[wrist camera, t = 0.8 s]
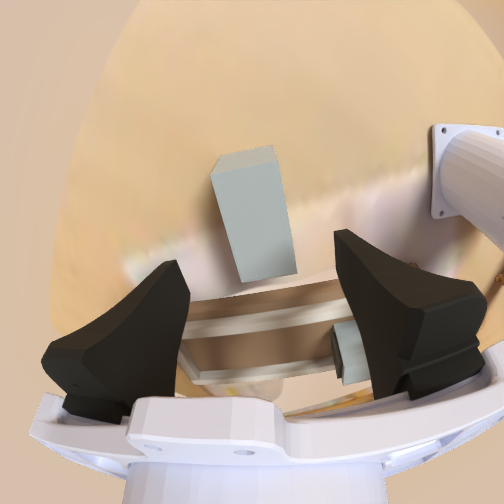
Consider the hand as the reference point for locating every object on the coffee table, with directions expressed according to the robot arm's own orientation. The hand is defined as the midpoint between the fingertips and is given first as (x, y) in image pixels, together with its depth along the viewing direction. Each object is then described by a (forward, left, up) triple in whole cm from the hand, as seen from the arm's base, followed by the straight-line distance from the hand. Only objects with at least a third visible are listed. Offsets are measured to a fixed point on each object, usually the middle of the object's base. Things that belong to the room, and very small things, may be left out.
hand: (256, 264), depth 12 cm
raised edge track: (-1, +14, -8) cm, 16 cm away
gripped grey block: (0, 0, -8) cm, 9 cm away
